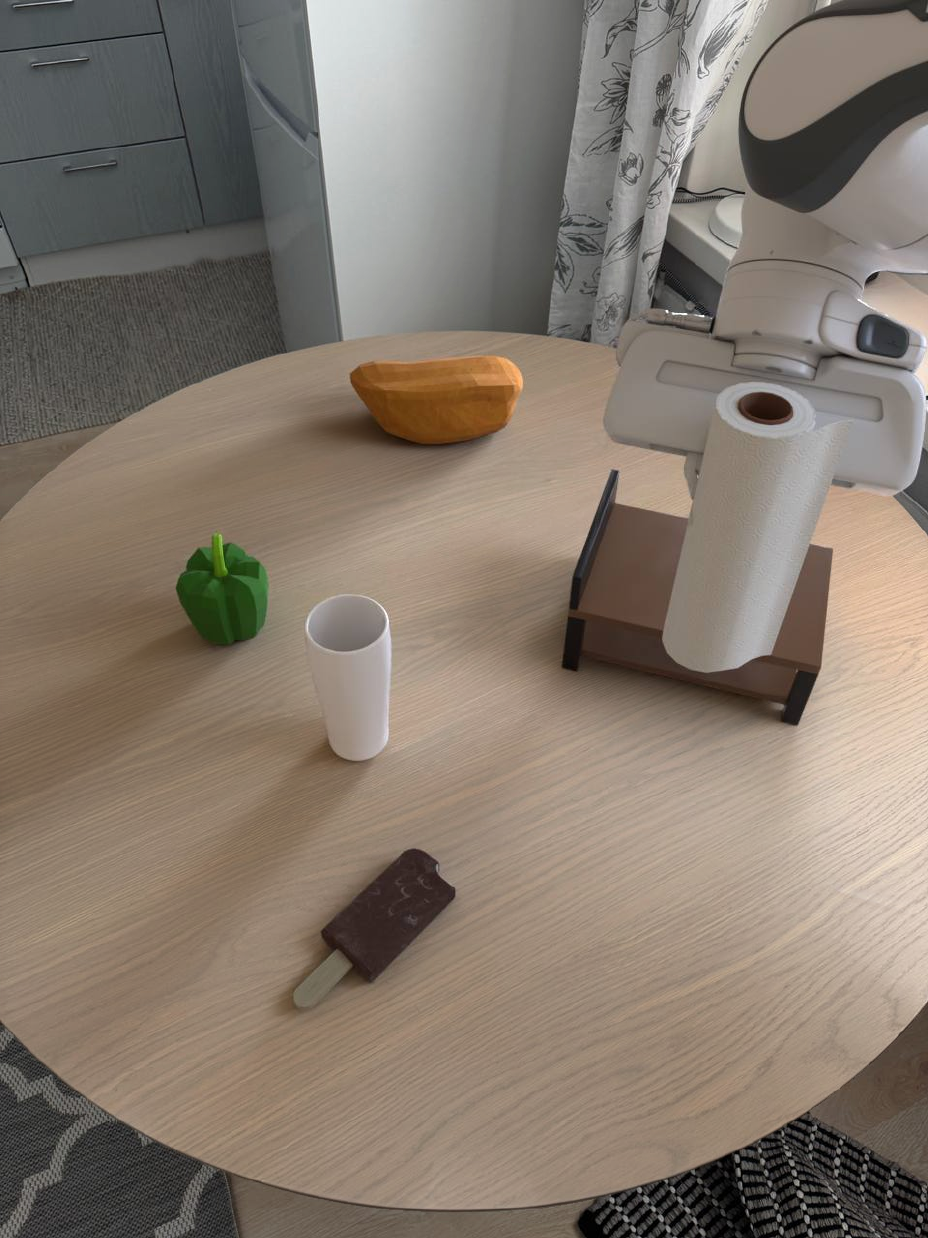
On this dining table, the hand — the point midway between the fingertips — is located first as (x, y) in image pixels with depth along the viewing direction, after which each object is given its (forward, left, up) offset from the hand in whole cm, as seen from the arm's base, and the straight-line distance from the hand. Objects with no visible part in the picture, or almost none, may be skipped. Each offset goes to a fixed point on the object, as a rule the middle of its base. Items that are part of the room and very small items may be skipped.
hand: (732, 534), depth 66 cm
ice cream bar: (+19, +22, -28) cm, 40 cm away
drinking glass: (+27, +5, -28) cm, 39 cm away
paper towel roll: (0, -1, -12) cm, 12 cm away
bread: (+37, -44, -28) cm, 64 cm away
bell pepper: (+44, -4, -28) cm, 52 cm away
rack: (+1, -17, -28) cm, 32 cm away
